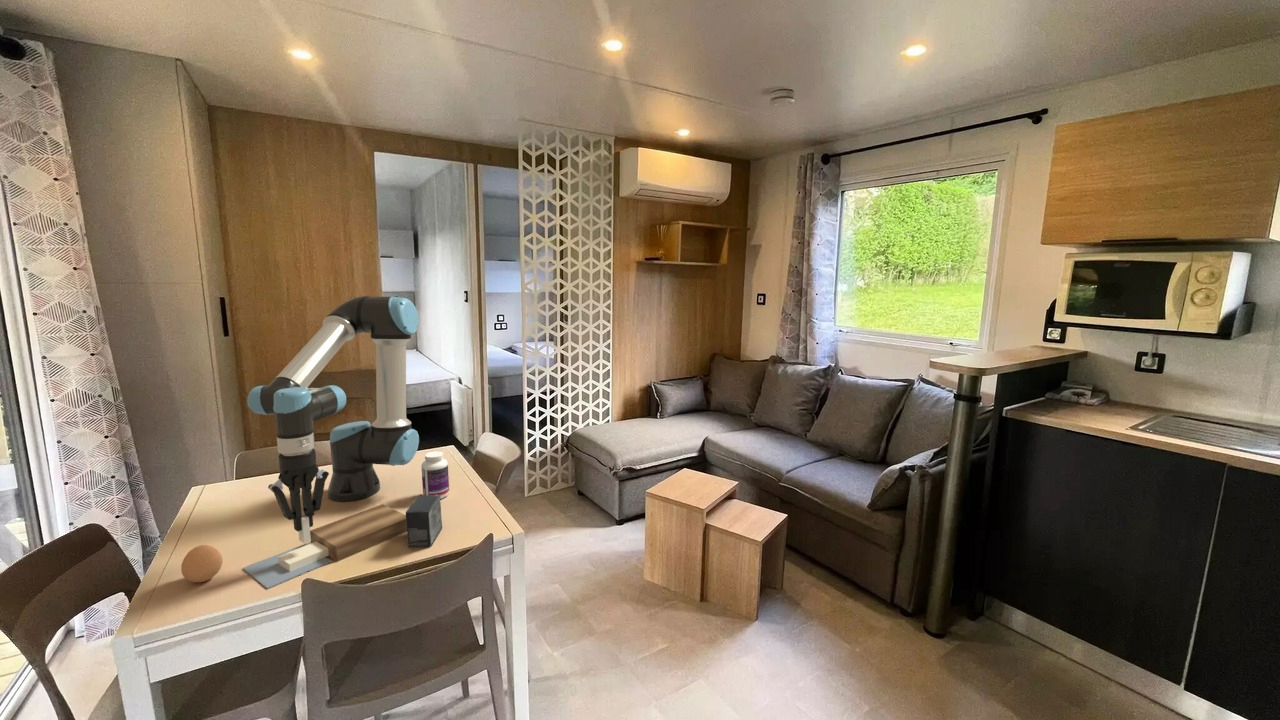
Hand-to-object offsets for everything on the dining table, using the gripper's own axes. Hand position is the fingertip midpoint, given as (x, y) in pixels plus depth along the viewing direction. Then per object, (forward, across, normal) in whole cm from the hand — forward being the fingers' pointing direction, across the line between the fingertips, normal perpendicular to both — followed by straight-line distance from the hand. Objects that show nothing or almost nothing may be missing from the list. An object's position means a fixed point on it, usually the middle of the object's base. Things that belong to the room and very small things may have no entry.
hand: (305, 540), depth 130 cm
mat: (+5, -4, +1) cm, 7 cm away
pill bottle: (+5, +42, +7) cm, 43 cm away
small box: (+6, +24, -14) cm, 28 cm away
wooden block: (+5, +14, 0) cm, 15 cm away
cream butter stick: (+5, 0, 0) cm, 5 cm away
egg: (+6, -18, +10) cm, 21 cm away
